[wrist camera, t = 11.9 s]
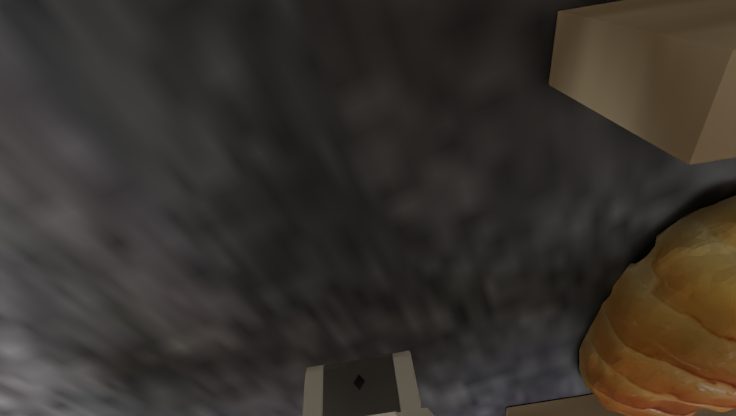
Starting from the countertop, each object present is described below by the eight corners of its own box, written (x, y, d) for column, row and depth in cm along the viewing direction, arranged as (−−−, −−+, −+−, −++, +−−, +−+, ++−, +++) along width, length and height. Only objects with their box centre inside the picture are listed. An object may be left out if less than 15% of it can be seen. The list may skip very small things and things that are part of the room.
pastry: (657, 381, 17) (733, 481, 13) (525, 364, 15) (575, 471, 12) (858, 209, 12) (1052, 301, 9) (693, 161, 10) (851, 250, 7)
